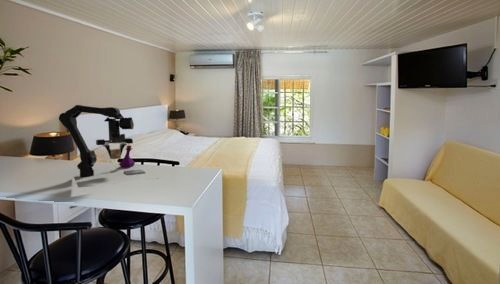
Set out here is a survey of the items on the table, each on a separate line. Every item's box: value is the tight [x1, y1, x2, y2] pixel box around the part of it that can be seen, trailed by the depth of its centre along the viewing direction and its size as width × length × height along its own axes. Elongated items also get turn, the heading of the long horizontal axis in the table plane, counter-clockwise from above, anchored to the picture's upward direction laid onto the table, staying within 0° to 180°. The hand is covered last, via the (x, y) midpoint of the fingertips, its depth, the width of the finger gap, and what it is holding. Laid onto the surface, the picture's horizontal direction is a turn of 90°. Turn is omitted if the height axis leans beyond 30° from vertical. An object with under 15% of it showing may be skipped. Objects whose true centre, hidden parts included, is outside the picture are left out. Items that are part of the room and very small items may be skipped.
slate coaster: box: [123, 169, 146, 176], centre depth 178 cm, size 10×10×1 cm
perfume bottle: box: [118, 145, 136, 169], centre depth 193 cm, size 8×8×18 cm
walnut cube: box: [109, 148, 122, 160], centre depth 170 cm, size 5×5×5 cm
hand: (115, 156), depth 170 cm, fingers closed on walnut cube, 5 cm apart
